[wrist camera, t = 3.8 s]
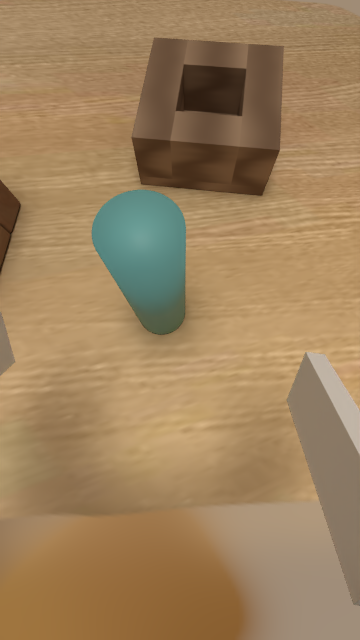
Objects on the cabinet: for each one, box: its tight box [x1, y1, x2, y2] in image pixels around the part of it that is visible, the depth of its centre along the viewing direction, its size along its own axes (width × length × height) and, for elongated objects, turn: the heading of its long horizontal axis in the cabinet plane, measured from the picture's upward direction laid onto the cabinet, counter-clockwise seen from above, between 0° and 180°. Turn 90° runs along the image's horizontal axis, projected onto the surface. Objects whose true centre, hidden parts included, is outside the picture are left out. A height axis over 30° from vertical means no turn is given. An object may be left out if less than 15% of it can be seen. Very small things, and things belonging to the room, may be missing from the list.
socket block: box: [132, 38, 284, 195], centre depth 25 cm, size 12×12×5 cm
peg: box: [92, 190, 186, 334], centre depth 17 cm, size 4×4×12 cm
